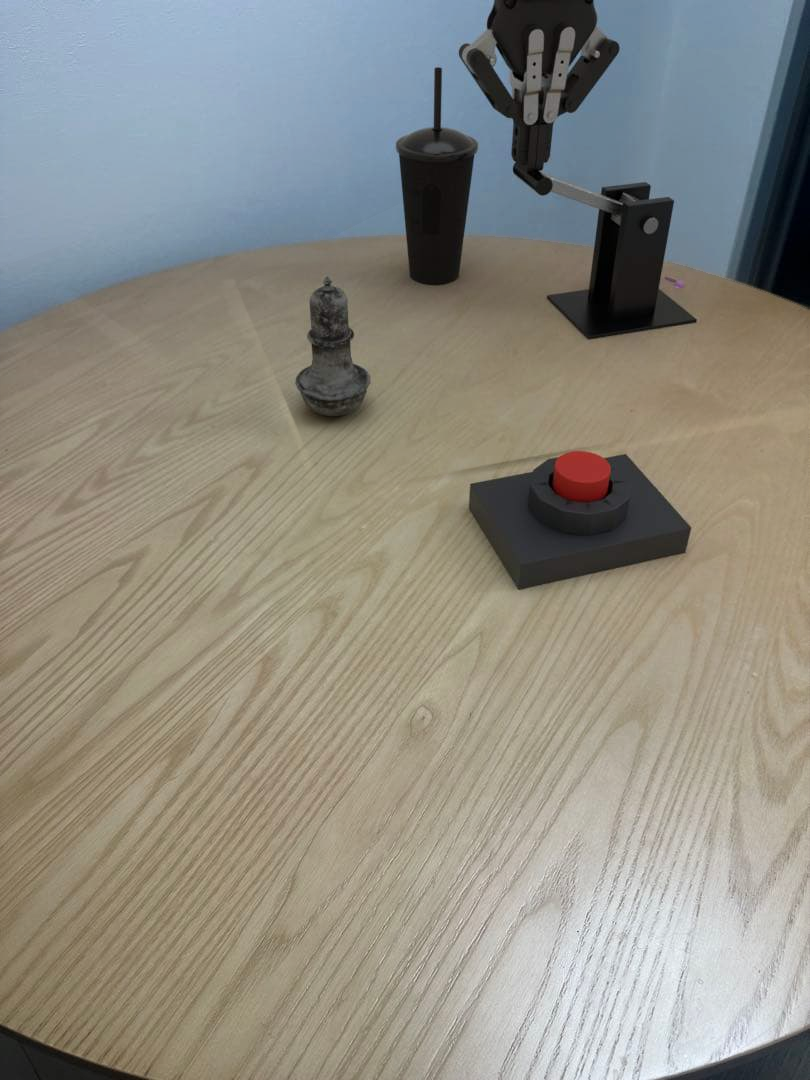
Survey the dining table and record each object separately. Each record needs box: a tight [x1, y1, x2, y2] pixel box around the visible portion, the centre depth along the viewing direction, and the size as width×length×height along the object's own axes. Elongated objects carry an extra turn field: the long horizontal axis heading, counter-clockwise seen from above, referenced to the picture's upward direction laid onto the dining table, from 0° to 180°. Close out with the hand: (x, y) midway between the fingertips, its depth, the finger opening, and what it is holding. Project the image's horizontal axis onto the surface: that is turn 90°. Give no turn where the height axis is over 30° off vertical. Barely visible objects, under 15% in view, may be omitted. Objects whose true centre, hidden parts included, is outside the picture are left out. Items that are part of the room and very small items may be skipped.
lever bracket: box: [546, 181, 698, 341], centre depth 86 cm, size 11×9×12 cm
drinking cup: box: [395, 66, 479, 286], centre depth 89 cm, size 8×8×20 cm
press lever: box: [512, 161, 642, 225], centre depth 81 cm, size 13×5×2 cm, turn 108°
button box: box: [468, 453, 692, 591], centre depth 63 cm, size 12×9×4 cm
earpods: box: [664, 276, 685, 289], centre depth 94 cm, size 3×2×2 cm
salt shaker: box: [294, 275, 371, 417], centre depth 72 cm, size 6×6×12 cm
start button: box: [553, 450, 611, 503], centre depth 62 cm, size 4×4×2 cm
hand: (529, 168), depth 77 cm, fingers closed
